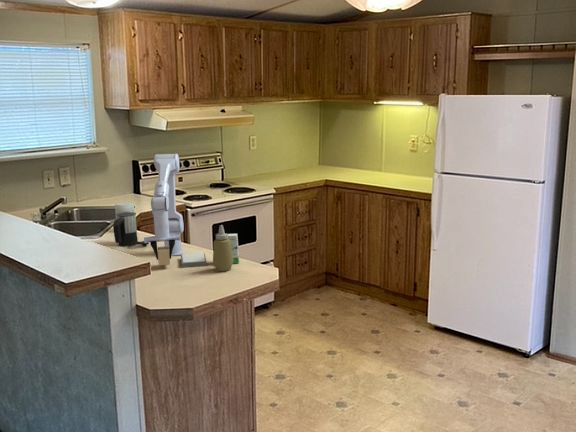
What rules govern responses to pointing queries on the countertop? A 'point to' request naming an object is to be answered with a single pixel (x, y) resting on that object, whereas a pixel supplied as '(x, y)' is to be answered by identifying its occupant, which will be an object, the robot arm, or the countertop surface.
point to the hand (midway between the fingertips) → (163, 258)
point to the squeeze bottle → (222, 251)
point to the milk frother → (126, 230)
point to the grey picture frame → (193, 260)
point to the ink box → (234, 247)
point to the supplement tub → (124, 207)
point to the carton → (163, 255)
